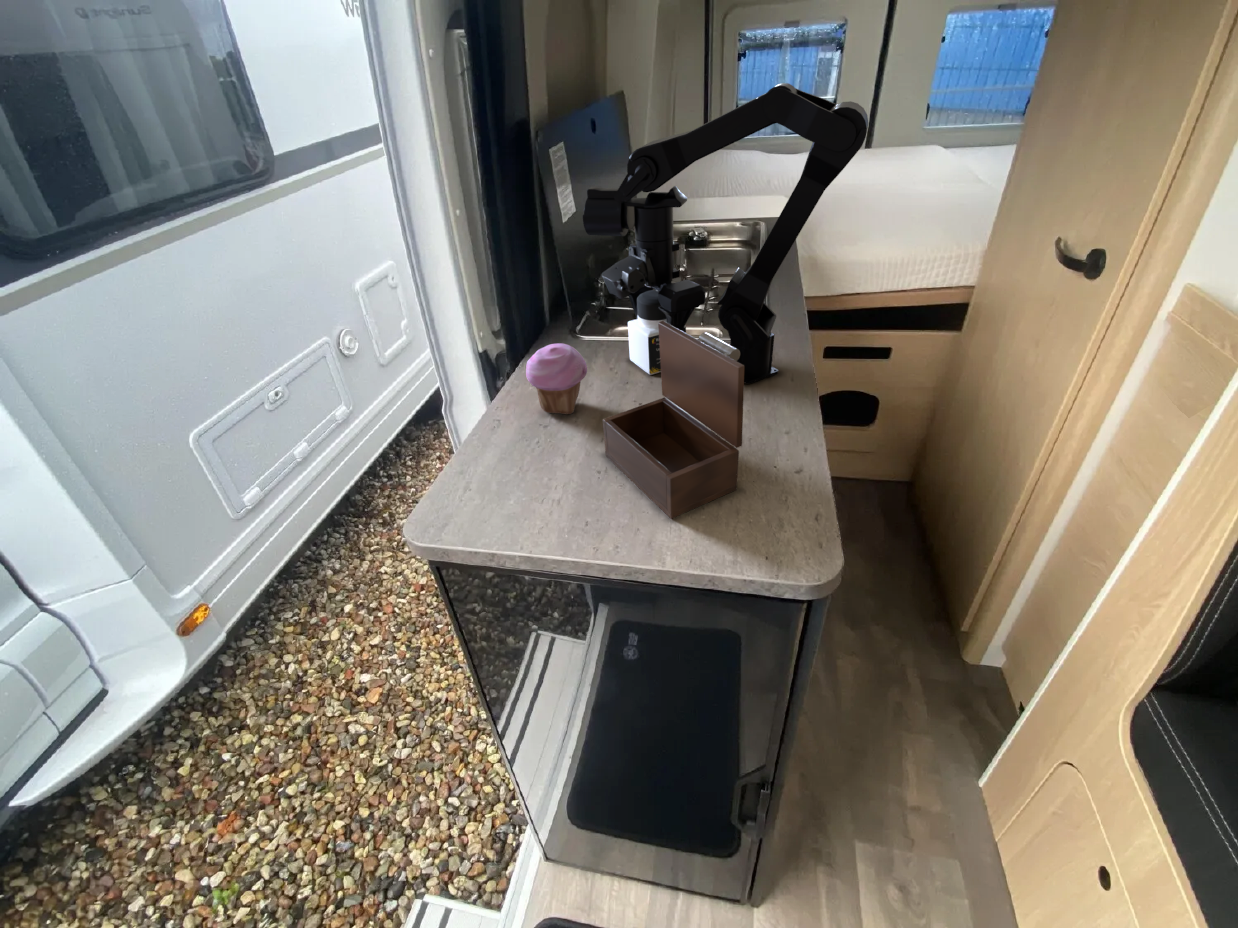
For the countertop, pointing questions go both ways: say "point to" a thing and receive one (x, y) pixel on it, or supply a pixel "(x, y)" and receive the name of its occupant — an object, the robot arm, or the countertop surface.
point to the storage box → (671, 456)
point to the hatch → (703, 380)
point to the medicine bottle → (646, 333)
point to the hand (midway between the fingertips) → (657, 334)
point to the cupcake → (556, 377)
